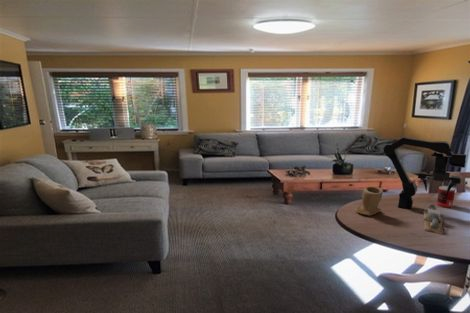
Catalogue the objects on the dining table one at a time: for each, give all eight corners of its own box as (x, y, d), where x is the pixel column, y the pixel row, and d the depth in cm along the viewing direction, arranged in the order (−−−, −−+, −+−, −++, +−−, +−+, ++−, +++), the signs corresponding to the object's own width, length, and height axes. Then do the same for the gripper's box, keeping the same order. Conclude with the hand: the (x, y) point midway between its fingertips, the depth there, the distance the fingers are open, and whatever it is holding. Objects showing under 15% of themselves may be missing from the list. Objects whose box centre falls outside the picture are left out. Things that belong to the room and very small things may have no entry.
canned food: (451, 204, 169) (454, 187, 167) (453, 209, 162) (456, 190, 160) (436, 202, 173) (438, 185, 171) (436, 206, 166) (439, 188, 164)
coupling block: (426, 217, 149) (427, 208, 148) (438, 219, 146) (439, 210, 145) (426, 221, 144) (428, 211, 143) (438, 223, 141) (440, 214, 140)
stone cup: (372, 219, 149) (375, 192, 146) (352, 212, 158) (354, 186, 155) (387, 213, 157) (390, 187, 154) (367, 206, 167) (369, 182, 164)
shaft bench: (424, 230, 136) (425, 220, 135) (423, 211, 158) (424, 202, 157) (443, 234, 132) (445, 223, 131) (439, 214, 154) (441, 205, 153)
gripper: (419, 165, 150) (415, 193, 153) (463, 170, 140) (458, 200, 143) (420, 161, 159) (416, 188, 162) (462, 166, 148) (457, 194, 152)
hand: (436, 192), depth 154 cm, fingers open, 9 cm apart
